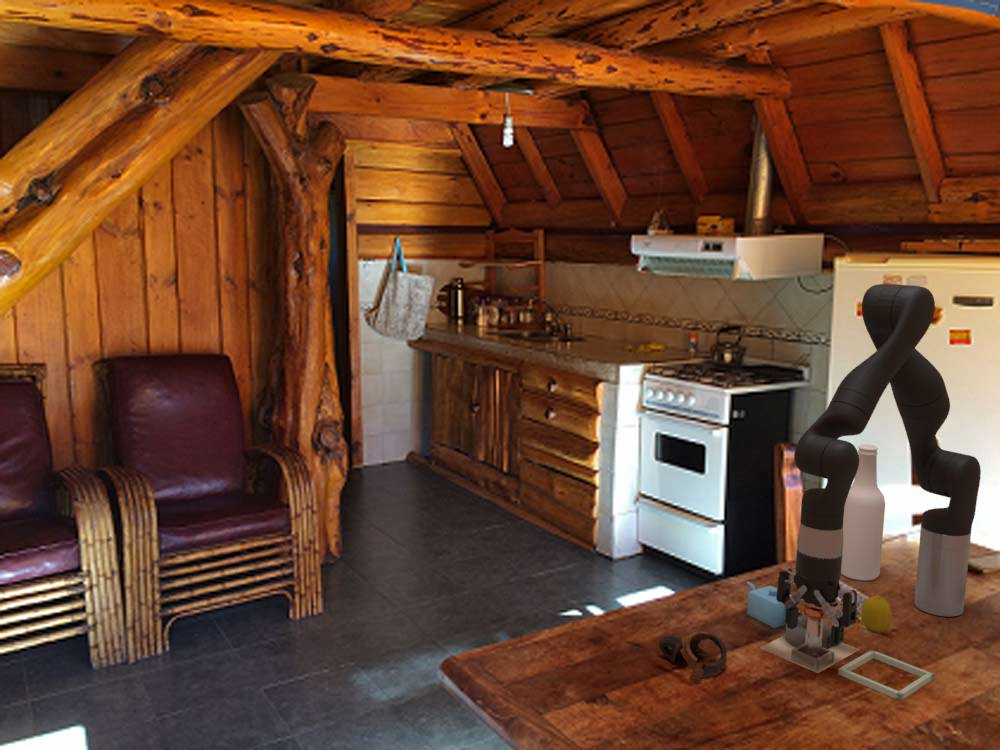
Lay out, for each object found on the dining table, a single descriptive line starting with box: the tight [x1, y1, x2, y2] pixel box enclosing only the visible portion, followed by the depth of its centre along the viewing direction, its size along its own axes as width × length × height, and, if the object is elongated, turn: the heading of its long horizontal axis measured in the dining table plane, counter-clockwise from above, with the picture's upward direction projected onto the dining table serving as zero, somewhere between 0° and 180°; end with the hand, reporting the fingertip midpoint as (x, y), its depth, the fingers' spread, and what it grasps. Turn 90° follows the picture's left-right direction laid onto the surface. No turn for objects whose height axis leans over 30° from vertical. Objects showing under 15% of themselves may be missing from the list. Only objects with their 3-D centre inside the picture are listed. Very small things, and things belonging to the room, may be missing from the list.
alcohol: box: [841, 443, 886, 582], centre depth 201 cm, size 9×9×30 cm
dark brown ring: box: [657, 630, 728, 684], centre depth 159 cm, size 12×10×8 cm
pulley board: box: [759, 613, 861, 674], centre depth 165 cm, size 14×12×6 cm
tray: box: [837, 649, 935, 702], centre depth 155 cm, size 11×11×2 cm
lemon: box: [860, 594, 893, 634], centre depth 173 cm, size 6×6×8 cm
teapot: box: [746, 581, 793, 629], centre depth 178 cm, size 12×6×8 cm, turn 31°
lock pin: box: [803, 603, 828, 658], centre depth 159 cm, size 4×4×10 cm
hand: (813, 636), depth 159 cm, fingers open, 8 cm apart
